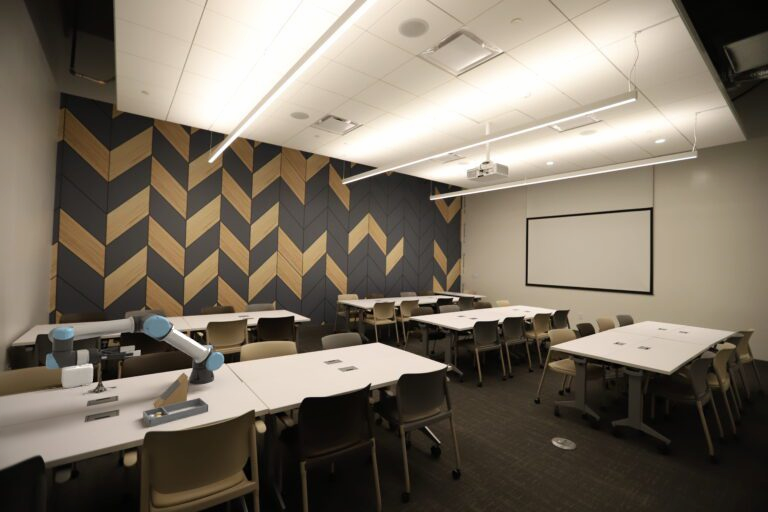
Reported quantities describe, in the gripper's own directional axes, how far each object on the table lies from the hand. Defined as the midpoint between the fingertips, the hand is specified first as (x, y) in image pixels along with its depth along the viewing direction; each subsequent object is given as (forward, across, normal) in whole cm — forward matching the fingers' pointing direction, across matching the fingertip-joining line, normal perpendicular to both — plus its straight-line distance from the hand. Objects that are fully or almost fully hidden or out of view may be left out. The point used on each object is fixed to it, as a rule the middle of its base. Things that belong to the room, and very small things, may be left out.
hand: (137, 350), depth 197 cm
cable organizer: (-19, -58, -30) cm, 68 cm away
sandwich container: (+15, +9, -30) cm, 35 cm away
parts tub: (+13, +28, -30) cm, 43 cm away
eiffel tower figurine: (-10, -37, -31) cm, 49 cm away
